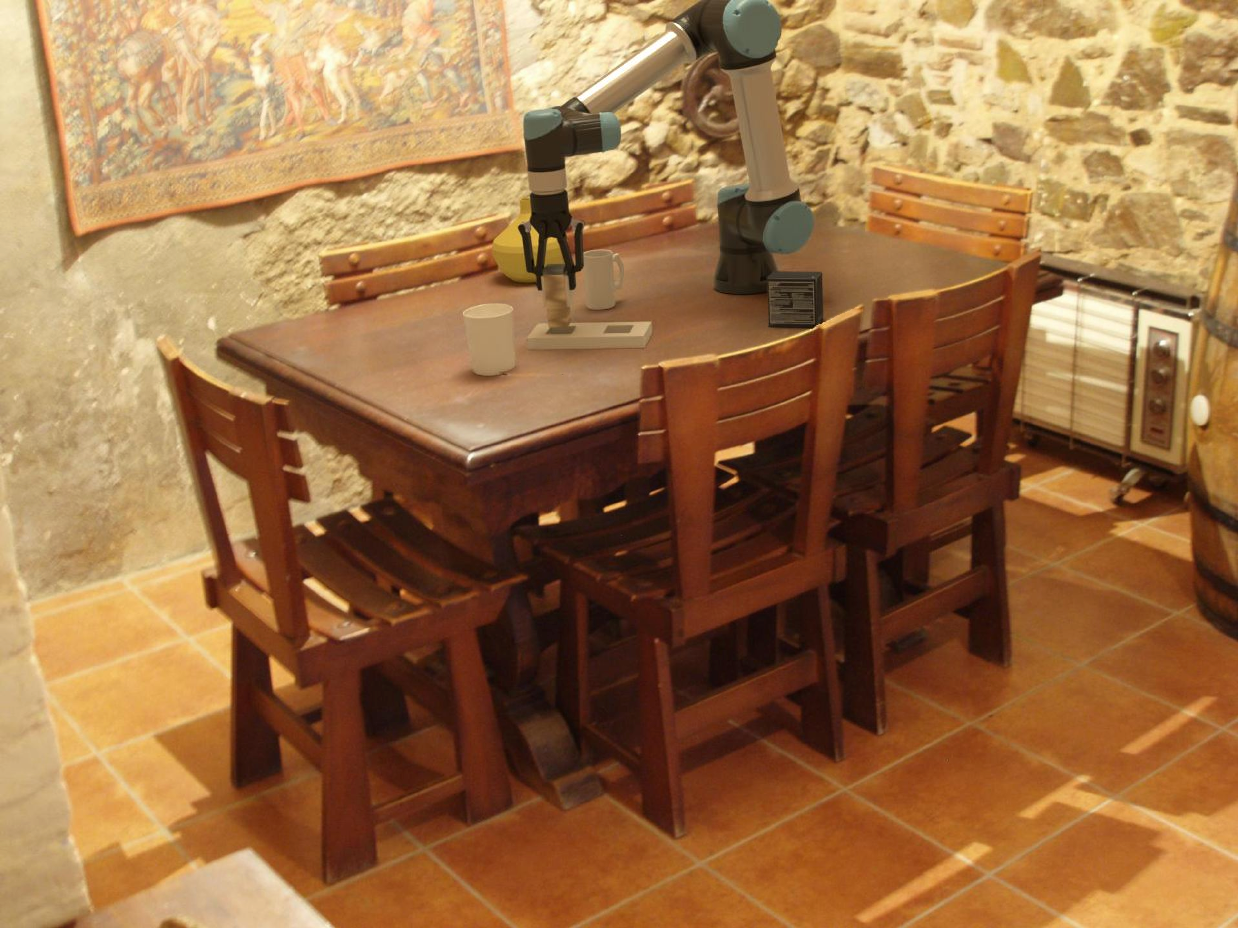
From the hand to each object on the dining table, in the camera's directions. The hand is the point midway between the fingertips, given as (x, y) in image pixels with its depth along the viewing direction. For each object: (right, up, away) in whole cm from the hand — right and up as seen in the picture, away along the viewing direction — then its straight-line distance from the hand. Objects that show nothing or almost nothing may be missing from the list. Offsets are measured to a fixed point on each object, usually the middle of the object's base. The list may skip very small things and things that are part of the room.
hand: (558, 305), depth 289 cm
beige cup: (-12, -14, -9) cm, 21 cm away
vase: (-8, +13, +56) cm, 58 cm away
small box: (+49, -3, +5) cm, 49 cm away
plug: (0, -4, +2) cm, 4 cm away
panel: (+7, -8, +2) cm, 10 cm away
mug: (+10, +3, +29) cm, 30 cm away
